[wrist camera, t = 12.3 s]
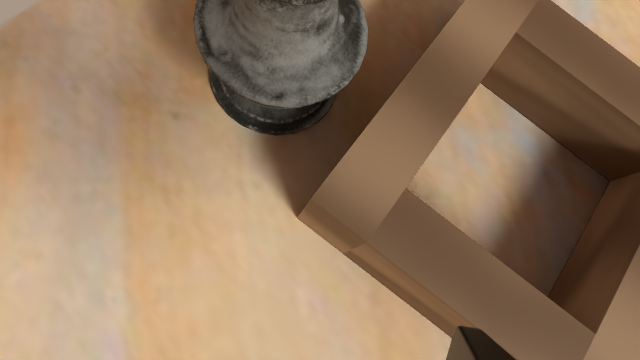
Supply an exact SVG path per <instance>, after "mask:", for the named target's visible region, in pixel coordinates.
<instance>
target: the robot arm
mask: <svg viewBox="0 0 640 360" xmlns="http://www.w3.org/2000/svg"><path fill="white" fill-rule="evenodd" d="M446 360H516V359H515V358H514V357H512V356H511V355H510V354H509V353H508V352H507V351H506V350H504V349H503V348H502V347H501V346H500V345H499V344H498V343H496V342H495V341H494V340H493V339H492V338H491V337H490V336H488V335H487V334H486V333H485V332H484V331H483V330H481V329H479V328H474V327H468V326H462V325H460V326H458V327H456V329H455V331H454V334H453V337H452V341H451V344H450V348H449V351H448V355H447V358H446Z"/></svg>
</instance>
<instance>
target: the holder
mask: <svg viewBox="0 0 640 360" xmlns="http://www.w3.org/2000/svg"><path fill="white" fill-rule="evenodd" d="M480 83H482V84H483V85H484V86H486V87H487V88H488V89H490V90H491V91H492V92H494V93H495V94H496V95H497V96H499V97H500V98H501V99H503V100H504V101H505V102H507V103H508V104H509V105H511V106H512V107H513V108H515V109H516V110H517V111H519V112H520V113H521V114H522V115H524V116H525V117H526V118H528V119H529V120H530V121H532V122H533V123H534V124H536V125H537V126H538V127H540V128H541V129H542V130H544V131H545V132H546V133H548V134H549V135H550V136H551V137H553V138H554V139H555V140H557V141H558V142H559V143H561V144H562V145H563V146H565V147H566V148H567V149H569V150H570V151H571V152H573V153H574V154H575V155H576V156H578V157H579V158H580V159H582V160H583V161H584V162H586V163H587V164H588V165H590V166H591V167H592V168H594V169H595V170H596V171H598V172H599V173H600V174H601V175H603V176H604V177H605V178H607V179H608V180H609V181H610V183H609V185H608V187H607V189H606V191H605V192H604V194H603V196H602V198H601V200H600V202H599V204H598V205H597V207H596V209H595V211H594V213H593V215H592V216H591V218H590V220H589V222H588V224H587V226H586V228H585V229H584V231H583V233H582V235H581V237H580V239H579V241H578V242H577V244H576V246H575V248H574V250H573V252H572V253H571V255H570V257H569V259H568V261H567V263H566V265H565V266H564V268H563V270H562V272H561V274H560V276H559V278H558V279H557V281H556V283H555V285H554V287H553V289H552V290H551V292H550V294H549V296H548V297H546V296H545V295H544V294H543V293H541V292H540V291H539V290H537V289H536V288H535V287H533V286H532V285H531V284H530V283H528V282H527V281H526V280H524V279H523V278H522V277H520V276H519V275H518V274H517V273H515V272H514V271H513V270H511V269H510V268H509V267H507V266H506V265H505V264H504V263H502V262H501V261H500V260H498V259H497V258H496V257H494V256H493V255H492V254H491V253H489V252H488V251H487V250H485V249H484V248H483V247H481V246H480V245H479V244H478V243H476V242H475V241H474V240H472V239H471V238H470V237H468V236H467V235H466V234H465V233H463V232H462V231H461V230H459V229H458V228H457V227H455V226H454V225H453V224H452V223H450V222H449V221H448V220H446V219H445V218H444V217H442V216H441V215H440V214H439V213H437V212H436V211H435V210H433V209H432V208H431V207H429V206H428V205H427V204H426V203H424V202H423V201H422V200H420V199H419V198H418V197H416V196H415V195H414V194H413V193H411V192H410V191H409V190H407V189H406V187H407V186H408V184H409V183H410V181H411V180H412V178H413V177H414V176H415V174H416V173H417V171H418V170H419V169H420V167H421V166H422V164H423V163H424V161H425V160H426V159H427V157H428V156H429V154H430V153H431V152H432V150H433V149H434V147H435V146H436V144H437V143H438V142H439V140H440V139H441V137H442V136H443V135H444V133H445V132H446V130H447V129H448V128H449V126H450V125H451V123H452V122H453V120H454V119H455V118H456V116H457V115H458V113H459V112H460V111H461V109H462V108H463V106H464V105H465V103H466V102H467V101H468V99H469V98H470V96H471V95H472V94H473V92H474V91H475V89H476V88H477V86H478V85H479V84H480ZM297 218H298V219H299V220H300V221H302V222H303V223H304V224H306V225H307V226H308V227H309V228H311V229H312V230H313V231H315V232H316V233H317V234H318V235H320V236H321V237H322V238H324V239H325V240H326V241H327V242H329V243H330V244H331V245H333V246H334V247H335V248H337V249H338V250H339V251H340V252H342V253H343V254H344V255H346V256H347V257H348V258H349V259H351V260H352V261H353V262H355V263H356V264H357V265H358V266H360V267H361V268H362V269H364V270H365V271H366V272H367V273H369V274H370V275H371V276H373V277H374V278H375V279H376V280H378V281H379V282H380V283H382V284H383V285H384V286H386V287H387V288H388V289H389V290H391V291H392V292H393V293H395V294H396V295H397V296H398V297H400V298H401V299H402V300H404V301H405V302H406V303H407V304H409V305H410V306H411V307H413V308H414V309H415V310H416V311H418V312H419V313H420V314H422V315H423V316H424V317H425V318H427V319H428V320H429V321H431V322H432V323H433V324H435V325H436V326H437V327H438V328H440V329H441V330H442V331H444V332H445V333H446V334H447V335H449V336H450V337H451V338H452V337H453V334H454V331H455V329H456V327H458V326H460V325H462V326H468V327H474V328H479V329H481V330H483V331H484V332H485V333H486V334H487V335H488V336H490V337H491V338H492V339H493V340H494V341H495V342H496V343H498V344H499V345H500V346H501V347H502V348H503V349H504V350H506V351H507V352H508V353H509V354H510V355H511V356H512V357H514V358H515V359H516V360H640V67H639V66H637V65H636V64H635V63H633V62H632V61H631V60H629V59H628V58H627V57H625V56H624V55H623V54H621V53H620V52H619V51H617V50H616V49H615V48H613V47H612V46H611V45H610V44H608V43H607V42H606V41H604V40H603V39H602V38H600V37H599V36H598V35H596V34H595V33H594V32H592V31H591V30H590V29H588V28H587V27H586V26H584V25H583V24H582V23H580V22H579V21H578V20H576V19H575V18H574V17H572V16H571V15H570V14H568V13H567V12H566V11H564V10H563V9H562V8H560V7H559V6H558V5H556V4H555V3H554V2H552V1H551V0H465V1H464V2H463V4H462V5H461V6H460V7H459V9H458V10H457V11H456V13H455V14H454V15H453V16H452V18H451V19H450V20H449V22H448V23H447V24H446V25H445V27H444V28H443V29H442V31H441V32H440V33H439V34H438V36H437V37H436V38H435V40H434V41H433V42H432V43H431V45H430V46H429V47H428V49H427V50H426V51H425V52H424V54H423V55H422V56H421V58H420V59H419V60H418V61H417V63H416V64H415V65H414V67H413V68H412V69H411V70H410V72H409V73H408V74H407V76H406V77H405V78H404V79H403V81H402V82H401V83H400V85H399V86H398V87H397V88H396V90H395V91H394V92H393V94H392V95H391V96H390V97H389V99H388V100H387V101H386V103H385V104H384V105H383V106H382V108H381V109H380V110H379V112H378V113H377V114H376V115H375V117H374V118H373V119H372V121H371V122H370V123H369V124H368V126H367V127H366V128H365V130H364V131H363V132H362V133H361V135H360V136H359V137H358V138H357V140H356V141H355V142H354V144H353V145H352V146H351V147H350V149H349V150H348V151H347V153H346V154H345V155H344V156H343V158H342V159H341V160H340V162H339V163H338V164H337V165H336V167H335V168H334V169H333V171H332V172H331V173H330V174H329V176H328V177H327V178H326V180H325V181H324V182H323V183H322V185H321V186H320V187H319V189H318V190H317V191H316V192H315V194H314V195H313V196H312V198H311V199H310V200H309V202H308V203H307V205H306V206H305V207H304V209H303V210H302V212H301V213H300V215H299V216H298V217H297Z"/></svg>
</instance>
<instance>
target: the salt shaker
mask: <svg viewBox="0 0 640 360" xmlns="http://www.w3.org/2000/svg"><path fill="white" fill-rule="evenodd" d="M193 20H194V28H195V37H196V43H197V45H198V47H199V50H200V52H201V54H202V57H203V59H204V61H205V63H206V64H207V66H208V67H209V75H210V83H211V88H212V90H213V93H214V95H215V97H216V100H217V102H218V103H219V104H220V106H221V107H222V108H223V109H224V111H225V112H226V113H227V114H228V116H230V117H231V118H233V119H234V120H235V121H237V122H238V123H239V124H241V125H242V126H244V127H247V128H249V129H251V130H254V131H256V132H259V133H265V134H272V135H282V134H292V133H296V132H299V131H301V130H304V129H307V128H309V127H311V126H312V125H313V124H315V123H316V122H318V121H319V120H320V119H322V118H323V117H324V115H325V114H326V113H327V112H328V110H329V109H330V108H331V106H332V105H333V102H334V100H335V97H336V95H337V92H338V91H340V90H341V89H342V88H344V87H345V86H347V84H348V83H349V82H350V81H351V79H352V78H353V77H354V75H355V74H356V73H357V72H358V70H359V69H360V66H361V64H362V61H363V59H364V56H365V53H366V51H367V41H368V26H367V22H366V17H365V12H364V9H363V7H362V5H361V3H360V1H359V0H197V3H196V8H195V14H194V19H193Z"/></svg>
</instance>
